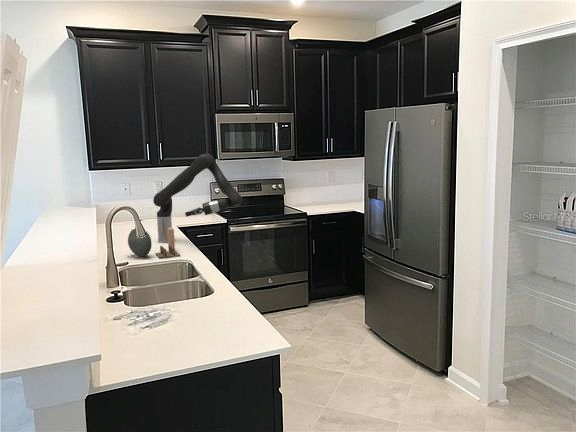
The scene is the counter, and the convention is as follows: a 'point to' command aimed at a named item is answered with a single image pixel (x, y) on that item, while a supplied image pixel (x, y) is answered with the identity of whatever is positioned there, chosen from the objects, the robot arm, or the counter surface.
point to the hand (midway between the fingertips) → (185, 214)
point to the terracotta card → (171, 237)
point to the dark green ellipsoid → (139, 244)
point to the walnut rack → (168, 254)
